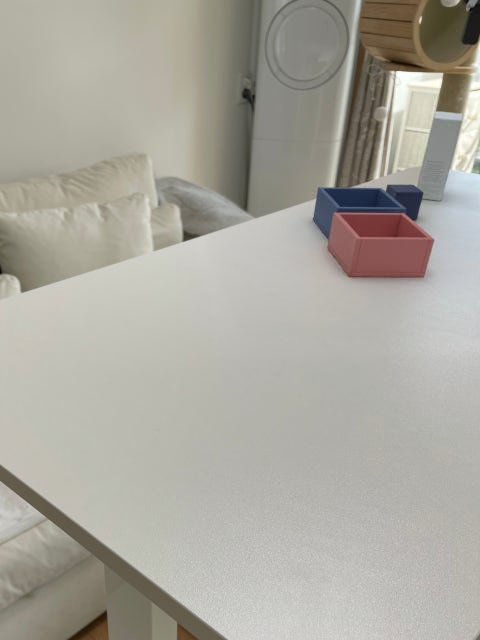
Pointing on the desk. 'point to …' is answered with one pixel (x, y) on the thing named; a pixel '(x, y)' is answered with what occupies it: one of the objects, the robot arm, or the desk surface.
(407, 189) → the navy block
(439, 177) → the cosmetic box
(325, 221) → the blue bin
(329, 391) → the desk surface
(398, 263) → the rose bin
